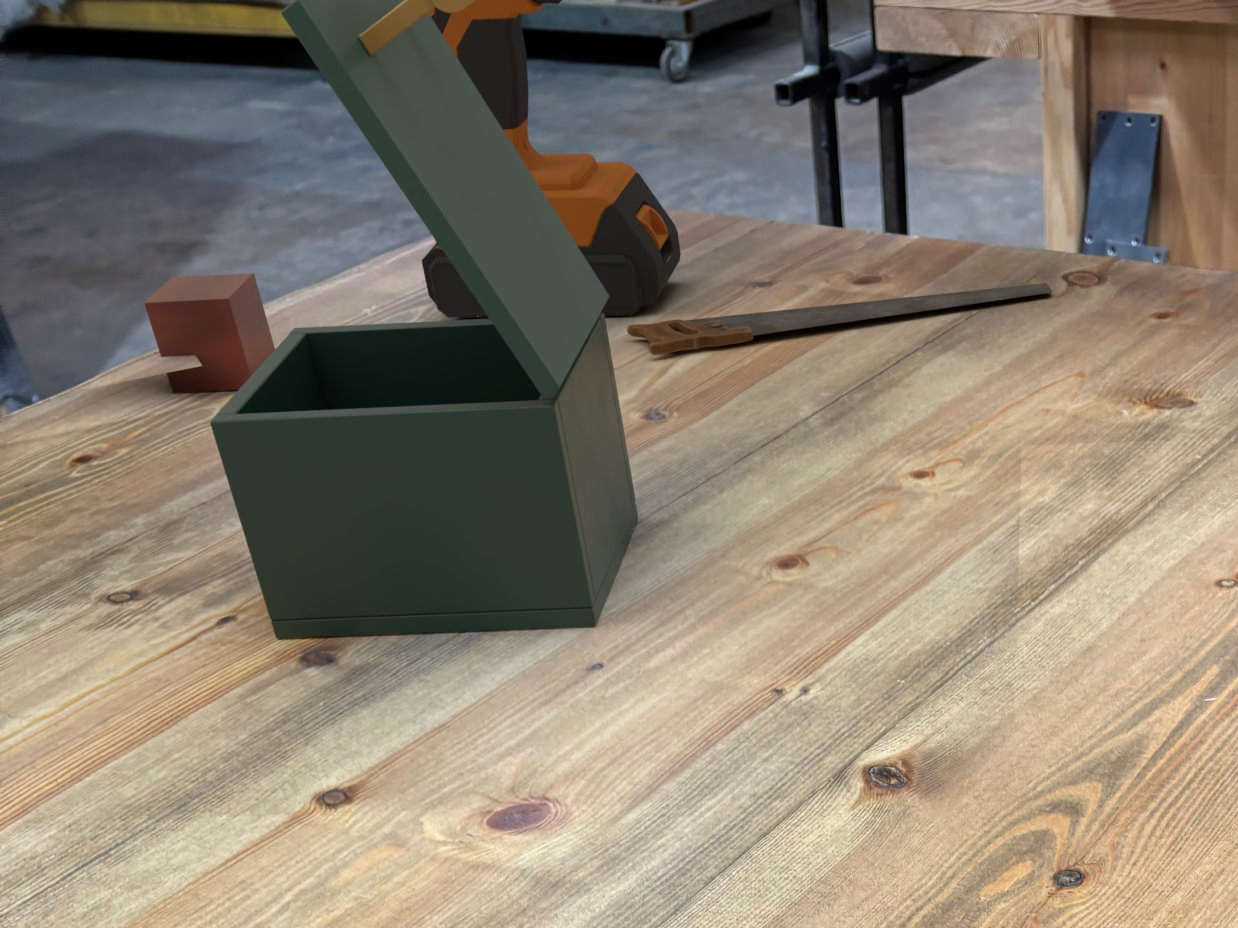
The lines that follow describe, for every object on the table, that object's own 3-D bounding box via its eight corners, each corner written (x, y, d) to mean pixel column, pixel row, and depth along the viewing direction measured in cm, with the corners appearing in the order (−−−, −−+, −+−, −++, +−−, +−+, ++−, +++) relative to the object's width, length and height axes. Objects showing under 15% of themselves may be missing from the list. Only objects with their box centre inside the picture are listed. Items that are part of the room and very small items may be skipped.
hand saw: (1030, 275, 114) (1030, 262, 113) (1057, 296, 110) (1057, 283, 110) (626, 335, 109) (624, 322, 109) (641, 358, 106) (639, 345, 105)
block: (172, 393, 106) (143, 302, 103) (199, 365, 110) (172, 277, 106) (254, 389, 106) (228, 298, 103) (279, 362, 109) (254, 272, 106)
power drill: (787, 275, 116) (731, -256, 99) (766, 314, 111) (703, -241, 94) (440, 285, 119) (327, -232, 102) (403, 324, 113) (276, -216, 96)
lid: (279, 12, 66) (405, -87, 64) (367, -47, 75) (480, -135, 73) (543, 398, 75) (661, 321, 73) (595, 306, 83) (702, 235, 81)
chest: (275, 639, 81) (208, 421, 75) (348, 531, 90) (293, 327, 84) (596, 626, 81) (553, 405, 75) (638, 518, 89) (604, 312, 83)
